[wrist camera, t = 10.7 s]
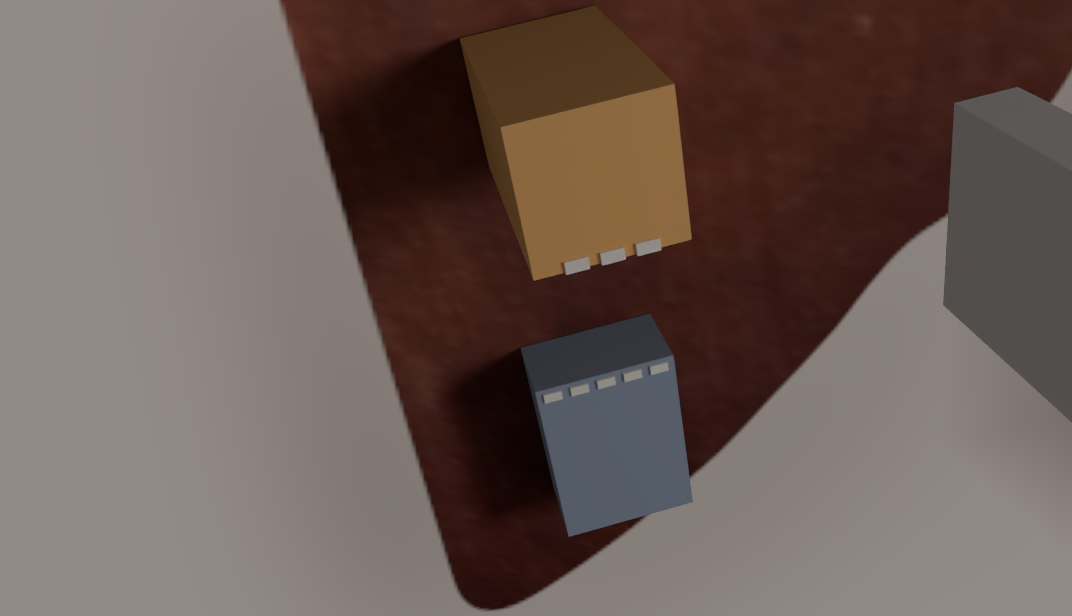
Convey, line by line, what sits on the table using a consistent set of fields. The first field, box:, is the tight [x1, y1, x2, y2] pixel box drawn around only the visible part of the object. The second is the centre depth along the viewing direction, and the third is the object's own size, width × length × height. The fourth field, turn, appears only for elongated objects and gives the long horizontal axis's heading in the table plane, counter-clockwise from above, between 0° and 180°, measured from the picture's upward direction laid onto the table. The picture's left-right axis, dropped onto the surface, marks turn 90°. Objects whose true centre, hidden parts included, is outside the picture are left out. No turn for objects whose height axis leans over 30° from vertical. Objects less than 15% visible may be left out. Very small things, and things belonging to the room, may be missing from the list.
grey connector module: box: [521, 314, 692, 536], centre depth 51 cm, size 10×7×4 cm
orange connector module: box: [460, 6, 692, 280], centre depth 38 cm, size 6×6×11 cm
